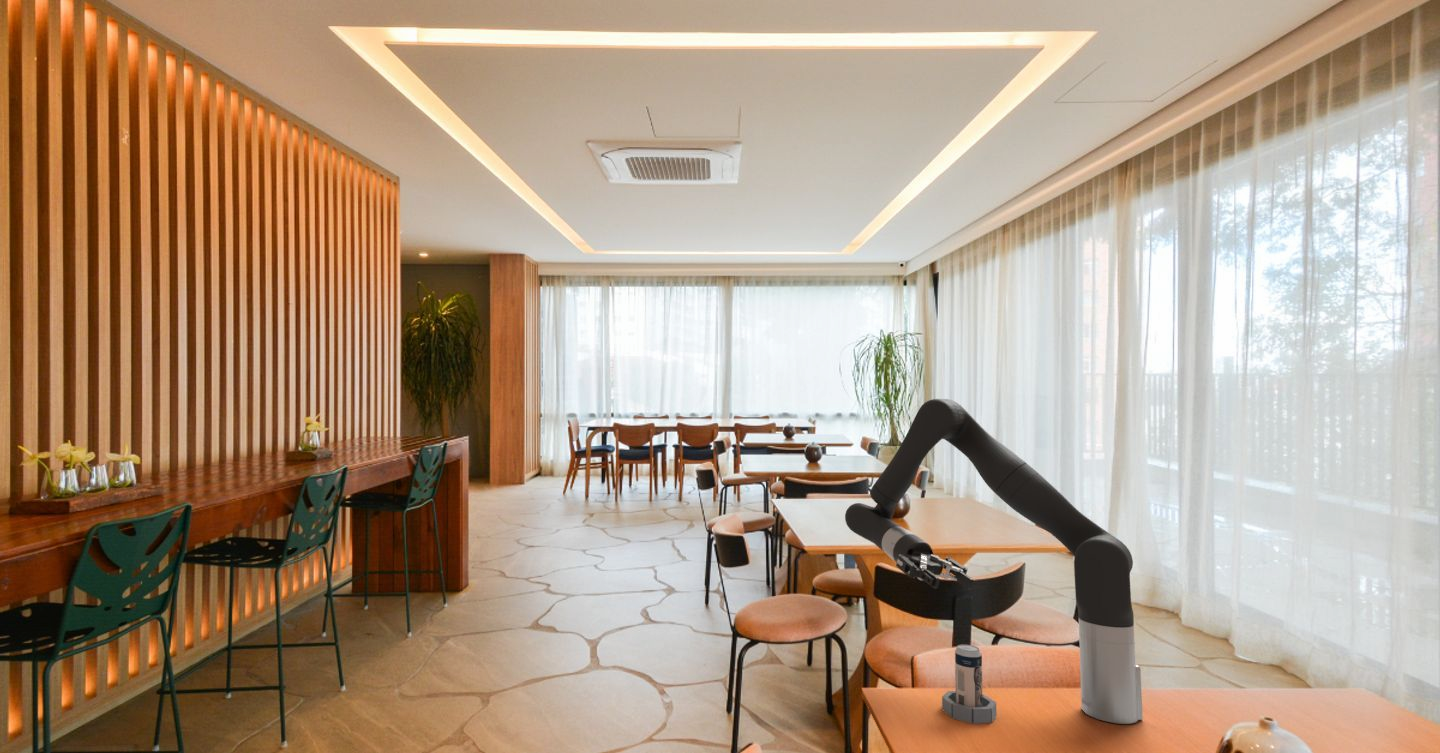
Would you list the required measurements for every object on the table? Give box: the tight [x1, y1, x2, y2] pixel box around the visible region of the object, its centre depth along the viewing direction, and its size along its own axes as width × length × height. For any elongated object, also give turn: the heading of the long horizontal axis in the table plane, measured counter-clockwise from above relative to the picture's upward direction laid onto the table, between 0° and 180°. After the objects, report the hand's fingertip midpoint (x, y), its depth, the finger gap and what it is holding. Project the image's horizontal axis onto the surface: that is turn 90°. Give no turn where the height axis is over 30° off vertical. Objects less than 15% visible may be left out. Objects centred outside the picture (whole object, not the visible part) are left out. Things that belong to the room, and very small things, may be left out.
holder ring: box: [941, 690, 998, 725], centre depth 123 cm, size 9×9×2 cm
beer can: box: [954, 644, 983, 707], centre depth 123 cm, size 5×5×12 cm
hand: (954, 584), depth 130 cm, fingers open, 8 cm apart
